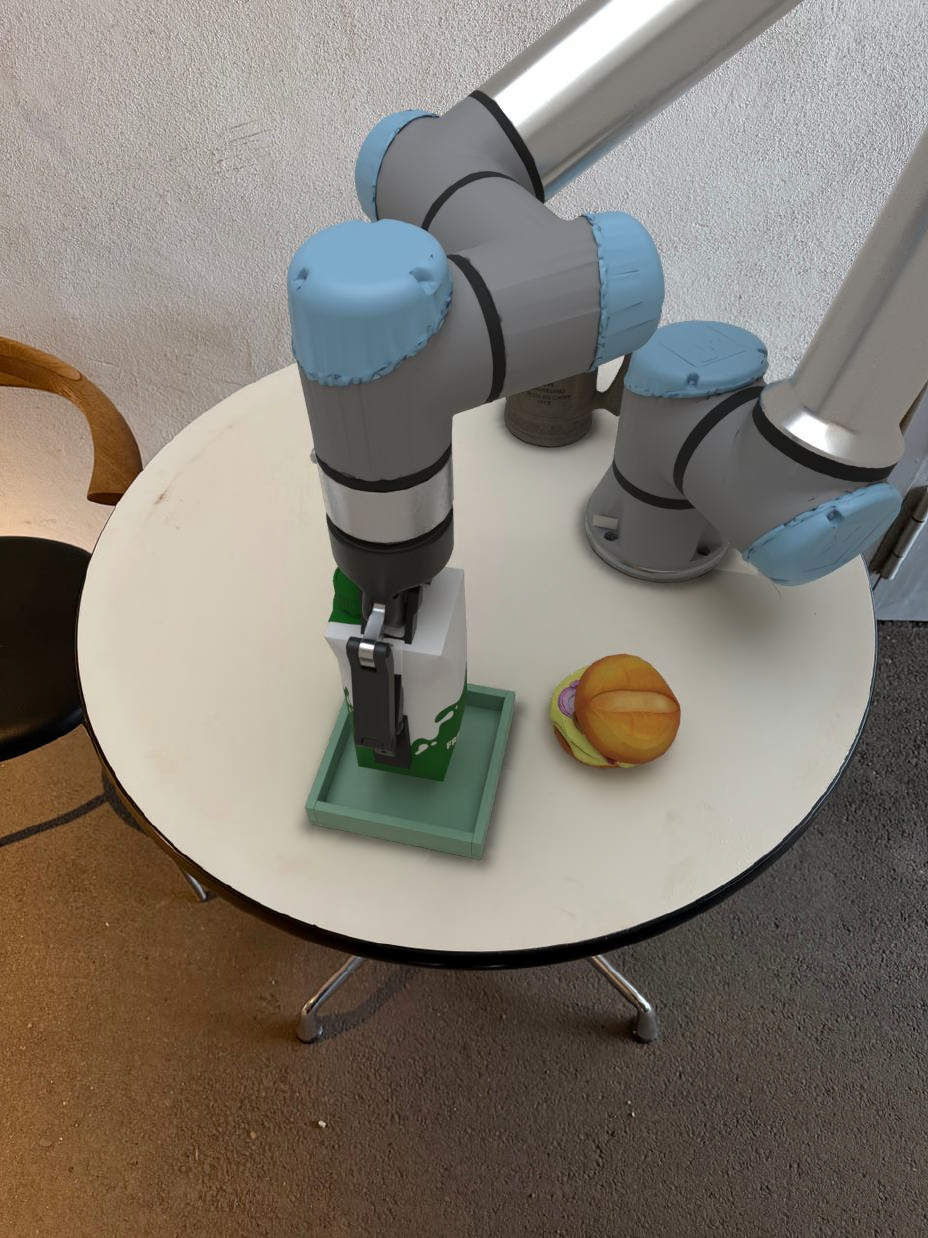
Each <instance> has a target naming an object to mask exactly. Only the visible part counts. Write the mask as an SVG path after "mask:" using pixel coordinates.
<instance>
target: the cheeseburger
mask: <svg viewBox="0 0 928 1238" xmlns="http://www.w3.org/2000/svg"><path fill="white" fill-rule="evenodd" d="M681 712H682V711H681V704H680V702H679V700H678V698H677V697H676V696H675V693H674V692H673V690H672V689H671V687H670V686H669V684H668V682H667V681H666V680H665V679H664V677H663V676H662V674H660V671H658V670H657V668H655V667H654V666H653V665H652V664H651V663H649V662H648V661H646V660H644V659H643V658H642V657H640V656H637V655H633V654H629V653H618V654H617V653H616V654H611V655H606V656H604V657H601V658H599V659H597V660H595V661H594V662H592V663H591V664H590V665H589V664H588V665H586V666H584V667H581V668H579V669H578V670H576V671H575V672H573V673H571V674H569V675H568V676H567V677H565V678H564V679H563V680H562V681H561V682H560V683H559V684H558V685H557V686H556V688H555V689H554V691H553V693H552V696H551V698H550V702H549V705H548V716H549V720H550V723H552V725H553V732H554V735H555V736H556V738H557V741H558V742H559V744H560V746H561V747H562V749H563V751H564V752H565V753H567V754H568V755H569V756H571V757H572V758H573V759H575V761H577V762H578V763H580V764H581V765H585V766H589V767H593V768H597V769H599V770H600V769H601V770H604V769H617V768H618V769H619V768H623V769H627V768H633V767H635V766H638V765H641V764H644V763H650V762H653V761H654V760H656V759H658V758H660V757H661V756H663V755H665V754H666V752H667V751H669V749H670V748H671V747H672V745H673V743H674V741H675V740H676V737H677V734H678V731H679V729H680V725H681V715H682V713H681Z"/></svg>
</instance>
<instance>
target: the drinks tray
mask: <svg viewBox="0 0 928 1238" xmlns="http://www.w3.org/2000/svg"><path fill="white" fill-rule="evenodd" d="M515 702H516V691H512V690H506V689H501V688H496V687H491V686H485V685H480V684H473V683H469V682H467V701H466V706H465V710H464V714H463V718H462V723H461V727H460V731H459V735H458V738H457V741H456V744H455V747H454V750H453V753H452V756H451V760H450V763H449V766H448V769H447V772H446V775H445V778H444V781H443V782H441V781H436V780H430V779H425V778H419V777H414V776H408V775H403V774H397V773H392V772H387V771H381V770H376V769H370V768H365V767H359V766H358V761H357V756H356V750H355V745H354V740H353V734H352V729H351V723H350V718H349V713H348V708H347V703H346V699H345V698H344V699H343V702H342V705H341V707H340V710H339V713H338V715H337V718H336V721H335V723H334V726H333V729H332V732H331V735H330V737H329V740H328V744H327V745H326V749H325V751H324V754H323V757H322V758H321V762H320V764H319V767H318V769H317V773H316V775H315V778H314V781H313V783H312V786H311V789H310V792H309V794H308V798H307V799H306V803H305V805H304V809H305V812H306V815H307V818H308V821H309V824H310V825H314V826H315V825H316V826H320V827H325V828H330V829H335V830H338V831H344V832H348V833H352V834H357V835H362V836H366V837H370V838H371V837H372V838H376V839H382V840H386V841H391V842H396V843H400V844H404V845H409V846H414V847H418V848H423V849H429V850H433V851H438V852H442V853H448V854H450V855H451V854H452V855H457V856H462V857H466V858H470V859H476V860H482V858H483V853H484V848H485V844H486V839H487V835H488V830H489V826H490V822H491V817H492V813H493V807H494V803H495V800H496V795H497V790H498V785H499V780H500V775H501V771H502V767H503V763H504V758H505V754H506V749H507V745H508V740H509V736H510V732H511V726H512V722H513V718H514V712H515V705H516V703H515Z"/></svg>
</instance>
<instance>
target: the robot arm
mask: <svg viewBox="0 0 928 1238" xmlns="http://www.w3.org/2000/svg"><path fill="white" fill-rule="evenodd" d="M804 1H805V0H584V1H583V2H582V3H580V4H579V5H578V6H577V7H575V8H574V9H573V10H572V11H571V12H569V13H568V14H567V15H565V16H564V17H563V18H562V19H561V20H559V21H558V22H557V23H556V24H554V25H553V26H552V27H550V29H548V30H547V31H546V32H545V33H543V34H542V35H541V36H540V37H539V38H537V39H536V40H535V41H534V42H532V43H531V44H529V46H527V47H525V49H523V50H522V51H521V52H520V53H518V54H517V55H516V56H515V57H513V58H512V59H511V60H510V61H509V62H507V63H506V64H505V65H504V66H502V67H501V68H500V69H499V70H498V71H496V72H495V73H493V75H492V76H490V77H489V78H488V79H486V80H485V81H484V82H483V83H481V84H480V85H479V86H478V87H477V88H476V89H474V90H473V91H471V93H469V94H468V95H467V96H466V97H464V98H463V99H461V100H460V101H458V102H457V103H456V104H454V105H453V106H452V107H450V108H449V109H448V110H447V111H446V112H444V113H443V114H442V115H441V116H440V115H438V114H436V113H434V112H432V113H431V112H429V111H426V110H423V109H406V110H401V111H398V112H393V113H390V114H389V115H387V116H385V117H383V118H382V119H380V121H379V122H377V123H376V125H374V126H373V128H372V129H371V130H370V131H369V132H368V134H367V135H366V137H365V139H364V140H363V142H362V144H361V146H360V149H359V151H358V154H357V159H356V162H355V168H354V185H355V191H356V196H357V199H358V202H359V205H360V207H361V209H362V212H363V213H364V214H365V216H366V217H367V219H369V222H367V221H364V220H362V219H352V220H347V221H343V222H338V223H336V224H333V225H330V226H328V227H325V228H323V229H321V230H319V231H317V232H316V233H314V234H313V235H311V236H309V238H307V239H306V240H305V241H304V242H303V243H302V244H301V245H300V246H299V247H298V248H297V250H296V251H295V252H294V255H293V256H292V258H291V260H290V263H289V265H288V269H287V275H286V290H287V291H286V292H287V306H288V314H289V322H290V323H289V324H290V329H291V351H292V356H293V358H294V360H296V365H297V369H298V375H299V379H300V384H301V389H302V393H303V394H302V395H303V397H304V402H305V407H306V412H307V417H308V421H309V426H310V431H311V437H312V441H313V448H312V449H311V452H310V455H309V458H310V461H311V463H312V464H315V465H317V466H316V467H317V471H318V477H319V483H320V488H321V493H322V499H323V504H324V509H325V520H326V525H327V532H328V537H329V543H330V548H331V552H332V557H333V559H334V562H335V564H336V565H337V567H339V568H340V570H341V571H342V572H343V573H344V574H345V575H346V576H347V577H348V578H349V579H351V580H352V581H353V582H354V583H355V584H356V585H357V586H358V587H359V594H358V600H359V603H360V605H361V607H362V613H361V634H363V638H359V637H353V636H350V638H349V639H348V642H347V644H346V654H347V657H348V661H349V664H350V667H351V681H352V698H353V716H354V721H353V725H354V733H355V745H356V746H361V747H366V748H371V749H373V752H374V758H375V763H379V764H384V765H389V766H394V767H398V768H403V769H408V770H410V768H411V764H412V753H411V743H410V734H409V724H408V716H407V715H403V705H404V693H403V688H402V674H394V659H393V652H394V645H393V644H390V643H386V642H384V638H391V639H397V640H402V641H404V644H410V645H411V644H412V641H413V638H414V635H415V632H416V629H417V616H418V610H419V608H420V606H421V605H422V601H423V586H420V585H421V584H423V583H424V584H429V585H431V582H432V579H433V577H435V576H436V575H437V574H438V573H439V572H441V570H442V569H443V568H444V567H447V565H448V563H449V562H450V559H451V557H452V555H453V551H454V547H455V523H454V522H455V519H454V518H455V516H454V499H455V487H454V485H455V484H454V459H453V458H454V457H453V422H454V421H453V420H454V418H453V417H455V415H458V414H460V413H464V412H466V411H469V410H473V409H476V408H478V407H481V406H484V405H487V404H490V403H494V402H495V401H498V400H501V399H504V398H505V397H508V396H511V395H514V394H517V393H520V392H523V391H526V390H529V389H533V388H536V387H539V386H542V385H545V384H548V383H551V382H555V381H558V380H561V379H564V378H567V377H570V376H573V375H576V374H580V373H583V372H585V373H588V372H591V371H594V370H595V369H596V368H597V367H598V366H599V367H601V366H602V365H605V364H607V363H609V362H612V361H615V360H617V359H619V358H622V357H624V356H625V355H626V354H629V353H631V352H632V355H631V360H630V364H629V368H628V372H627V373H626V375H625V377H624V389H623V395H622V402H621V409H620V416H619V417H618V423H617V429H616V435H615V443H614V450H613V455H612V461H611V464H610V465H609V467H608V468H607V470H606V472H605V473H604V475H603V476H602V478H601V479H600V481H599V482H598V484H597V486H596V488H595V489H594V490H593V492H592V494H591V496H590V499H589V500H588V503H587V507H586V512H585V521H584V528H585V532H586V537H587V540H588V541H589V542H588V543H589V544H590V545H591V547H592V549H593V550H594V551H595V553H596V554H597V555H598V556H599V557H600V558H601V559H602V560H603V561H604V562H606V563H607V564H608V565H609V566H611V567H613V569H616V570H617V571H620V572H621V573H623V574H626V575H628V576H631V577H633V578H637V579H640V580H644V581H650V582H656V583H657V582H658V583H674V582H682V581H687V580H692V579H694V578H697V577H700V576H702V575H704V574H706V573H708V572H709V571H711V570H712V569H713V568H715V567H716V566H717V565H718V564H719V563H720V561H722V559H723V557H724V556H725V555H726V552H727V550H728V546H729V544H731V545H732V546H733V547H734V548H735V549H736V551H738V552H739V553H740V554H741V559H742V560H743V561H744V562H746V563H747V564H751V565H752V566H753V567H754V568H755V569H756V570H758V572H760V573H761V574H762V575H763V576H764V577H765V578H766V579H767V580H769V581H770V582H772V583H773V584H776V585H778V586H783V587H797V586H801V585H807V584H809V583H812V582H814V581H817V580H819V579H821V578H824V577H826V576H828V575H830V574H831V573H834V572H836V571H837V570H838V569H840V568H842V567H843V566H845V565H846V564H848V563H849V562H851V561H852V560H854V559H855V558H856V557H859V555H861V554H862V553H863V552H865V550H867V549H868V548H869V547H871V546H872V544H874V543H875V542H876V541H877V540H878V539H879V538H880V537H881V536H882V535H883V534H885V532H886V531H887V530H888V529H889V528H890V527H891V526H892V524H894V522H895V520H896V519H897V518H898V516H899V514H900V512H901V508H902V504H903V497H902V494H901V493H900V491H899V489H898V487H897V484H896V483H891V482H888V479H889V477H890V475H891V474H892V473H893V471H894V469H895V468H896V466H897V465H898V463H899V462H900V460H901V459H902V458H903V456H904V454H905V452H906V451H905V450H906V443H905V439H904V436H903V433H902V430H901V427H900V423H901V422H902V420H903V418H904V417H905V415H906V414H907V412H908V411H909V410H910V408H911V406H912V405H913V404H914V402H915V400H916V399H917V398H918V396H919V395H920V393H921V391H922V390H923V388H924V387H925V385H926V384H927V382H928V123H926V126H925V127H924V129H923V131H922V133H921V135H920V136H919V139H918V141H917V142H916V144H915V145H914V148H913V150H912V152H911V154H910V155H909V158H908V160H907V161H906V163H905V165H904V167H903V168H902V170H901V172H900V174H899V176H898V178H897V180H896V181H895V183H894V185H893V188H892V189H891V191H890V193H889V195H888V197H887V199H886V201H885V202H884V203H883V206H882V208H881V210H880V212H879V213H878V215H877V217H876V219H875V220H874V223H873V225H872V226H871V228H870V230H869V231H868V233H867V236H866V237H865V239H864V241H863V244H862V245H861V246H860V248H859V251H858V253H857V255H856V256H855V258H854V259H853V262H852V263H851V266H850V268H849V269H848V271H847V274H845V277H844V279H843V280H842V283H840V286H839V288H838V290H837V291H836V293H835V295H834V297H833V299H832V301H831V302H830V305H829V306H828V309H827V310H826V312H825V314H824V316H823V318H822V320H821V322H820V323H819V325H818V327H817V329H816V331H815V333H814V334H813V337H812V339H811V340H810V342H809V344H808V346H807V347H806V350H805V352H804V354H803V355H802V356H801V359H800V361H799V363H798V365H797V366H796V368H795V370H794V372H793V374H791V375H789V376H786V377H782V378H779V379H775V380H773V381H771V382H769V383H767V382H766V381H765V378H764V376H765V375H766V374H767V371H768V369H769V366H770V364H769V360H768V357H769V352H768V351H769V350H768V349H767V345H766V344H765V342H763V341H762V339H761V338H759V336H757V335H756V334H754V333H753V332H751V331H749V330H748V329H745V328H743V327H740V326H739V325H734V324H731V323H728V322H723V321H716V320H701V319H700V320H699V319H698V320H695V319H694V320H693V319H692V320H683V321H676V322H672V323H668V324H666V325H663V326H659V324H660V322H661V318H662V313H663V304H664V301H665V295H666V285H665V282H666V281H665V276H664V274H665V273H664V269H663V265H662V264H663V263H662V259H661V257H660V253H659V250H658V248H657V245H656V243H655V241H654V239H653V237H652V236H651V234H650V232H649V231H648V230H647V228H646V227H645V225H643V223H642V222H641V221H640V220H639V219H637V218H636V217H634V216H633V215H631V214H630V213H627V212H624V211H619V210H614V211H613V210H608V211H607V210H606V211H603V212H602V211H601V212H597V213H591V212H589V211H587V212H583V213H582V214H581V215H578V216H577V217H576V218H574V219H563V218H560V217H559V216H558V215H557V214H556V213H555V212H554V211H553V210H551V209H550V208H548V207H547V206H546V205H545V204H546V203H547V202H549V201H550V200H552V198H554V197H555V196H556V195H558V194H559V193H560V192H561V191H562V190H564V189H565V188H566V187H568V186H569V185H570V184H572V183H573V182H575V180H577V179H578V178H579V177H580V176H581V175H583V174H584V173H585V172H587V171H588V170H589V169H590V168H592V167H593V166H595V165H596V164H597V163H598V162H599V161H601V160H602V159H603V158H605V157H607V155H608V154H610V153H611V152H613V151H614V150H615V149H616V148H617V147H619V146H621V145H622V143H624V142H626V141H627V140H628V139H629V138H630V137H632V136H633V135H634V134H636V133H637V132H638V131H639V130H641V129H642V128H643V127H645V126H646V125H648V123H650V122H651V121H652V120H654V119H655V118H656V117H658V116H659V114H661V113H662V112H663V111H665V110H666V109H668V108H669V107H670V106H671V105H673V104H674V103H675V102H676V101H677V100H679V99H680V98H681V97H683V96H684V95H685V94H687V93H688V92H689V91H690V90H692V89H693V88H694V87H695V86H697V85H698V84H699V83H700V82H702V81H703V80H704V79H706V78H707V77H708V76H709V75H711V74H713V73H714V72H715V71H716V70H717V69H719V68H720V67H721V66H722V65H724V64H725V63H726V62H727V61H729V60H730V59H731V58H733V57H734V56H735V55H736V54H738V53H739V52H740V51H741V50H743V49H744V48H745V47H746V46H748V45H749V44H750V43H752V42H753V41H754V40H756V39H757V38H758V37H760V36H761V35H762V34H763V33H765V32H766V31H767V30H769V29H770V28H771V27H773V26H774V25H775V24H776V23H777V22H779V21H780V20H782V19H783V18H784V17H785V16H787V15H788V14H789V13H790V12H792V11H793V10H794V9H796V7H798V6H799V5H801V4H802V3H803V2H804ZM599 367H598V368H599ZM404 625H405V633H404V636H403V637H396V636H392V635H388V634H386V633H384V632H385V628H386V626H390V627H396V628H398V627H402V626H404Z"/></svg>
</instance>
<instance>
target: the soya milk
mask: <svg viewBox="0 0 928 1238" xmlns="http://www.w3.org/2000/svg"><path fill="white" fill-rule="evenodd" d="M465 583H466V582H465V569H464V568H463V569H462V568H458V567H457V568H456V567H451V566H445V567H444V568H443V569H442V570H441V572H439V573H438V574H437V575H436V576H435V577H433V579H432V582H431V585H429V584H424V583H423V584H421V585H420V586H423V601H422V605H421V606H420V608H419V610H418V616H417V629H416V632H415V635H414V638H413V641H412V644H411V645H410V644H404V641H402V640H397V639H391V638H384V642H386V643H390V644H393V645H394V652H393V659H394V674H402V688H403V693H404V705H403V715H407V716H408V724H409V734H410V743H411V753H412V764H411V768H410V770H408V769H403V768H398V767H394V766H389V765H384V764H379V763H375V758H374V752H373V749H371V748H366V747H361V746H356V745H355V733H354V725H353V721H354V716H353V698H352V681H351V667H350V664H349V661H348V657H347V654H346V644H347V642H348V639H349V638H350V636H353V637H359V638H363V634H361V613H362V607H361V605H360V603H359V600H358V594H359V587H358V586H357V585H356V584H355V583H354V582H353V581H352V580H351V579H349V578H348V577H347V576H346V575H345V574H344V573H343V572H342V571H341V570H340V568H339V567H338V566H337V567H336V569H335V570H334V572H333V575H332V586H333V590H334V595H333V599H332V611H331V613H330V615H329V618H328V620H327V622H328V624H327V628H326V631H325V633H324V635H323V637H324V639H325V641H326V642H327V644H328V645H329V647H330V649H331V651H332V653H333V654H334V656H335V657H336V660H337V665H338V669H339V674H340V678H341V683H342V689H343V694H344V699H346V703H347V708H348V713H349V718H350V723H351V729H352V734H353V740H354V745H355V750H356V756H357V761H358V766H359V767H365V768H370V769H376V770H381V771H387V772H392V773H397V774H403V775H408V776H414V777H419V778H425V779H430V780H436V781H441V782H443V781H444V778H445V775H446V772H447V769H448V766H449V763H450V760H451V756H452V753H453V750H454V747H455V744H456V741H457V738H458V735H459V731H460V727H461V723H462V718H463V714H464V710H465V706H466V701H467V683H468V630H467V629H468V627H467V613H466V612H467V607H466V585H465ZM384 633H386V634H388V635H392V636H396V637H403V636H404V633H405V625H404V626H402V627H398V628H396V627H390V626H386V628H385V632H384Z"/></svg>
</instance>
